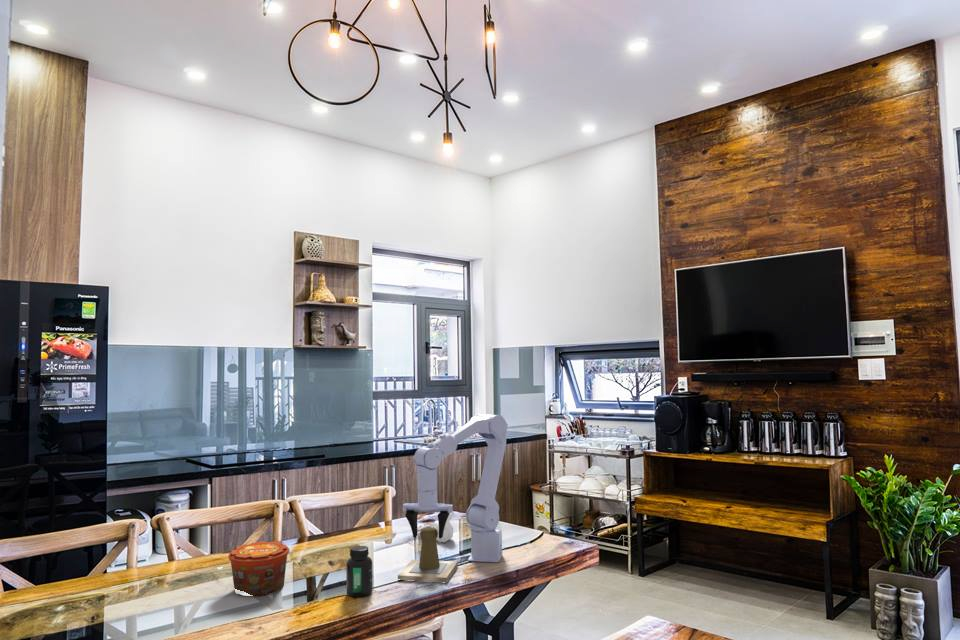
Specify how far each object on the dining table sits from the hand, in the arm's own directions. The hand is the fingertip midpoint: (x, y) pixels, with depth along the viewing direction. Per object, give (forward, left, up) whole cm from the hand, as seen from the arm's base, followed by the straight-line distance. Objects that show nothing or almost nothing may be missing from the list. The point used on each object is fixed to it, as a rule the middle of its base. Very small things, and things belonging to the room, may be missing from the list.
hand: (428, 536), depth 191 cm
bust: (+4, -34, -11) cm, 36 cm away
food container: (+43, +18, -11) cm, 48 cm away
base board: (0, 0, -10) cm, 10 cm away
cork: (0, -1, -9) cm, 9 cm away
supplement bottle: (+14, +18, -11) cm, 25 cm away
